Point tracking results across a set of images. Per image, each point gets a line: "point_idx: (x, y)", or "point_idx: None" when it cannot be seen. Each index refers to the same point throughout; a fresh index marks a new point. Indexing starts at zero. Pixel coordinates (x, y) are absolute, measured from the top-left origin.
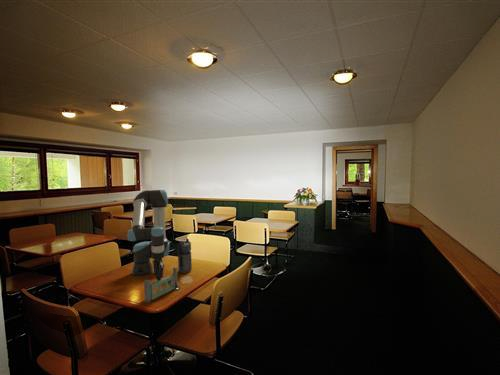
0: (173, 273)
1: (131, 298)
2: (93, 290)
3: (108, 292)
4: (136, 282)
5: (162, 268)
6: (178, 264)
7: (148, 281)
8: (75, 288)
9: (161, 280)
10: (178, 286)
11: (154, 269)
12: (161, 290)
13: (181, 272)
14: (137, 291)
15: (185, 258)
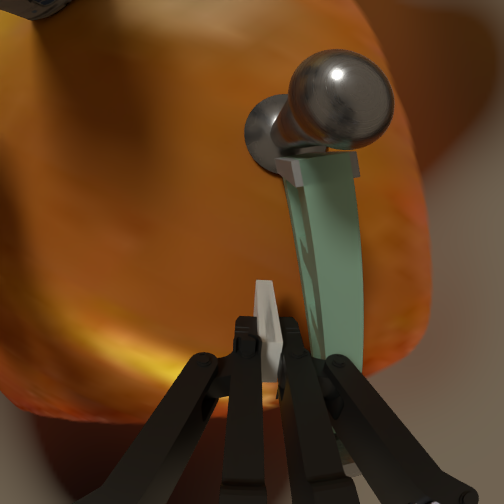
0: (315, 144)
1: None
2: (45, 405)
3: (77, 399)
4: (19, 287)
5: (425, 472)
6: (8, 7)
7: (358, 469)
8: (23, 410)
9: (355, 358)
10: (276, 99)
11: (189, 456)
12: (309, 289)
13: (65, 4)
14: (126, 342)
15: None
